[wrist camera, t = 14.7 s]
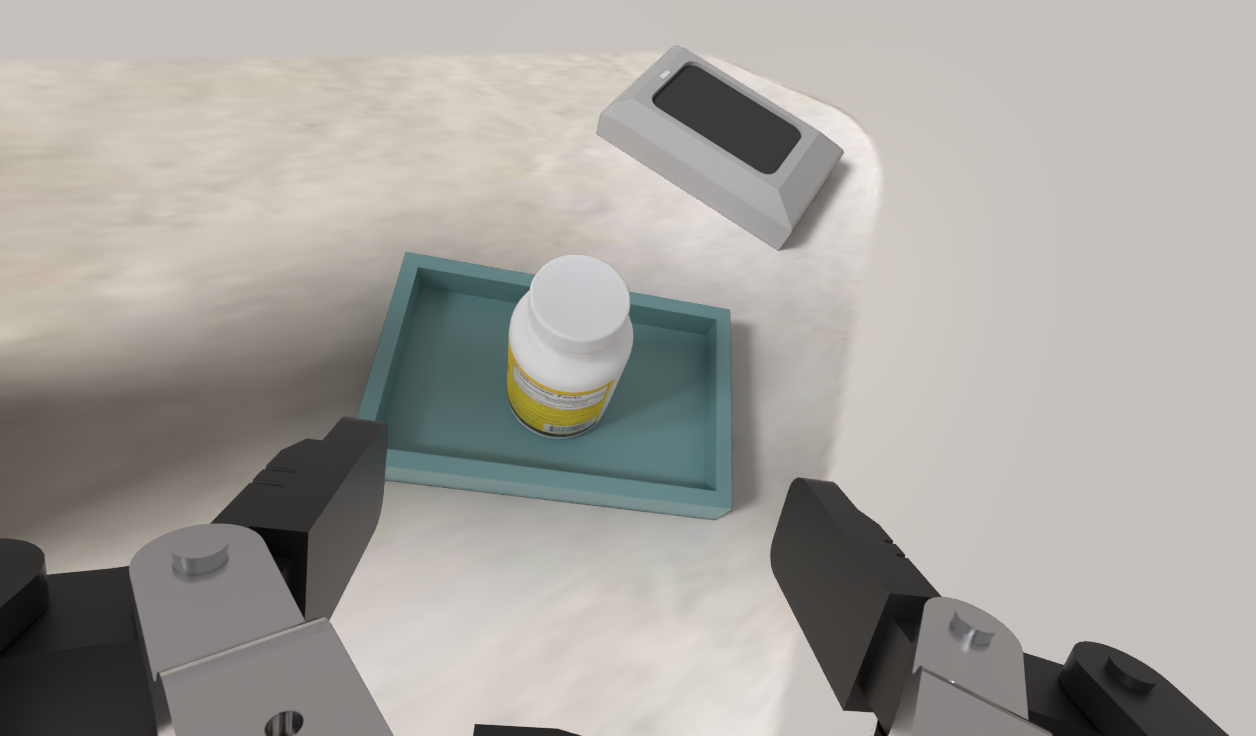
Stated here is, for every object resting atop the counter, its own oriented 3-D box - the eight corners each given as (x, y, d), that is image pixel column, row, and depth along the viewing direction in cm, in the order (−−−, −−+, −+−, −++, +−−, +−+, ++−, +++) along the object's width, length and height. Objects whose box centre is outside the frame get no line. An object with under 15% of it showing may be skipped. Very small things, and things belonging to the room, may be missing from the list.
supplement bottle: (548, 330, 33) (570, 216, 25) (626, 388, 33) (676, 292, 24) (482, 398, 31) (481, 298, 22) (565, 463, 30) (597, 385, 22)
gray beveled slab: (800, 219, 38) (604, 94, 39) (775, 254, 41) (595, 138, 42) (853, 139, 42) (675, 29, 43) (827, 176, 45) (662, 73, 47)
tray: (354, 476, 29) (343, 461, 26) (410, 278, 34) (405, 251, 32) (714, 520, 31) (732, 509, 29) (715, 330, 37) (730, 309, 34)
